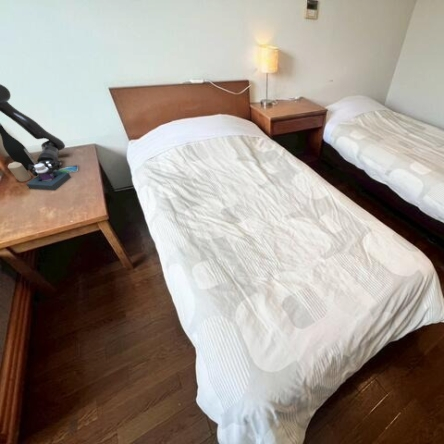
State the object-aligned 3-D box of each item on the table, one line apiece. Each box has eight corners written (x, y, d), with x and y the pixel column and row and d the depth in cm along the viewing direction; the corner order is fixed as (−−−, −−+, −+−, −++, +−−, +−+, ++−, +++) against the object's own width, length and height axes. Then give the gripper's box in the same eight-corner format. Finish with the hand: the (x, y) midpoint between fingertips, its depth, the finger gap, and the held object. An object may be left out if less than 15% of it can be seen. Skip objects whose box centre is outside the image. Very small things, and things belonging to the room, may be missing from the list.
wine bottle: (32, 162, 149) (-5, 111, 128) (41, 166, 147) (4, 114, 126) (16, 168, 143) (-25, 115, 123) (25, 172, 141) (-16, 119, 121)
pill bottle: (57, 181, 136) (46, 165, 129) (44, 184, 133) (33, 169, 126) (54, 177, 138) (44, 161, 131) (42, 180, 135) (31, 164, 128)
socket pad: (29, 188, 131) (25, 184, 129) (47, 175, 140) (44, 171, 138) (55, 190, 132) (51, 185, 130) (71, 177, 141) (68, 172, 139)
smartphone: (46, 170, 143) (77, 165, 150) (46, 171, 144) (78, 166, 150) (44, 176, 139) (77, 170, 145) (45, 177, 139) (78, 171, 146)
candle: (26, 175, 139) (13, 159, 132) (34, 177, 138) (22, 161, 131) (15, 180, 135) (2, 164, 128) (24, 182, 134) (11, 166, 127)
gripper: (27, 154, 135) (19, 170, 124) (60, 150, 140) (55, 165, 130) (36, 166, 140) (29, 182, 129) (67, 162, 145) (63, 177, 135)
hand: (42, 173), depth 130 cm, fingers closed on pill bottle, 5 cm apart
